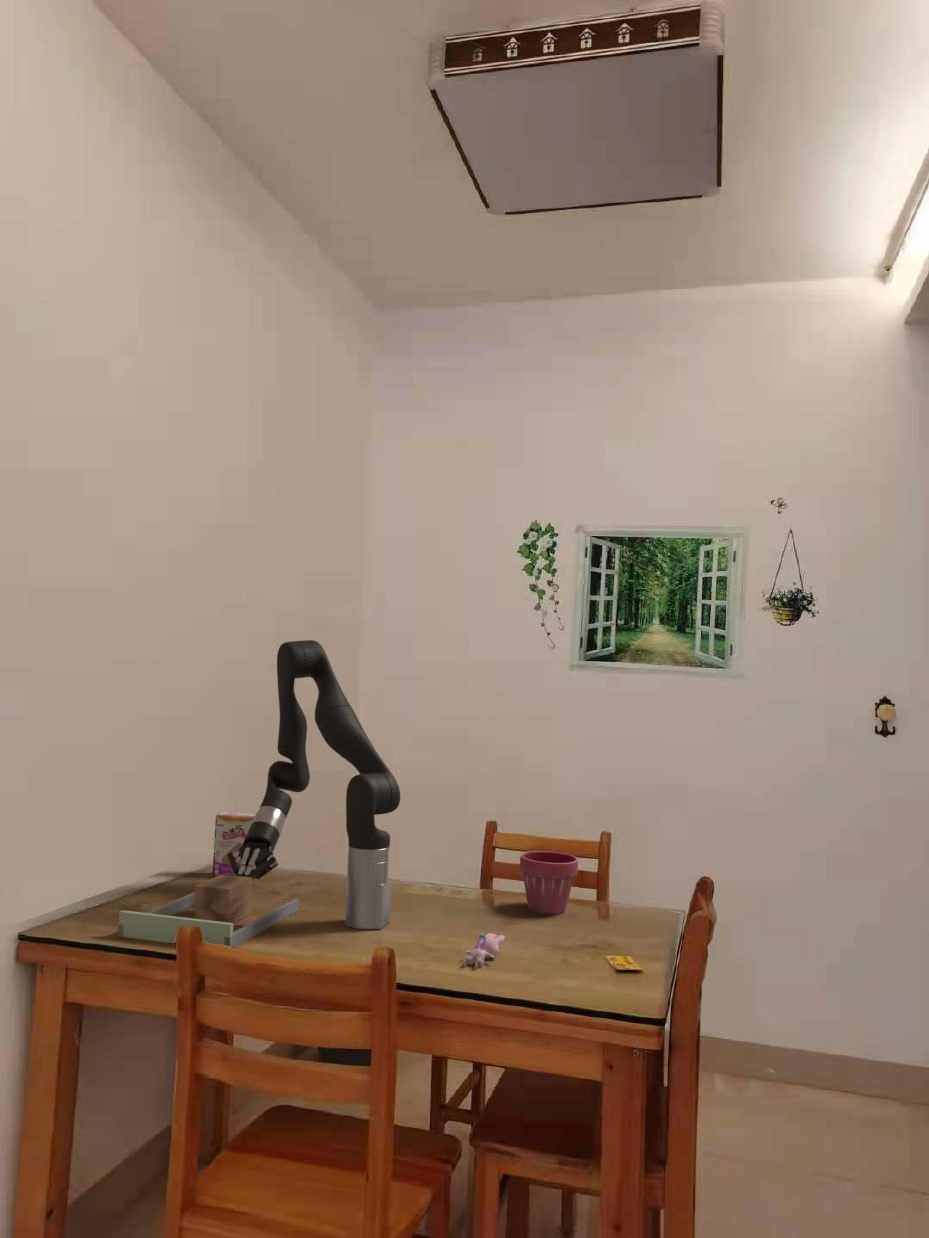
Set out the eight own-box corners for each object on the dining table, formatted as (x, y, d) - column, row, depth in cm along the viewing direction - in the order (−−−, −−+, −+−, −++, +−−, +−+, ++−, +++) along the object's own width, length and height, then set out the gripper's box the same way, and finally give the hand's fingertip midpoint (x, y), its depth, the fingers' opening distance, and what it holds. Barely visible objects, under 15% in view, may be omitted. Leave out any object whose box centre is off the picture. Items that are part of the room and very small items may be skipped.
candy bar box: (211, 877, 248) (214, 814, 249) (218, 873, 253) (221, 811, 254) (252, 879, 247) (255, 816, 248) (258, 875, 252) (261, 813, 252)
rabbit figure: (484, 978, 180) (514, 946, 193) (484, 948, 179) (513, 918, 193) (455, 973, 182) (486, 941, 196) (454, 943, 182) (485, 913, 195)
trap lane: (298, 910, 218) (299, 888, 218) (229, 950, 186) (230, 924, 187) (201, 899, 224) (202, 878, 225) (117, 936, 193) (119, 911, 193)
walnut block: (250, 912, 215) (252, 877, 215) (227, 926, 203) (229, 889, 203) (218, 909, 216) (220, 874, 217) (193, 923, 204) (195, 886, 205)
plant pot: (586, 915, 223) (588, 861, 224) (532, 918, 219) (534, 863, 219) (560, 900, 237) (562, 849, 238) (509, 903, 232) (511, 851, 233)
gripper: (236, 818, 228) (207, 879, 215) (286, 822, 224) (260, 885, 212) (245, 836, 233) (218, 897, 220) (294, 840, 229) (269, 903, 217)
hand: (238, 891), depth 216 cm, fingers closed
